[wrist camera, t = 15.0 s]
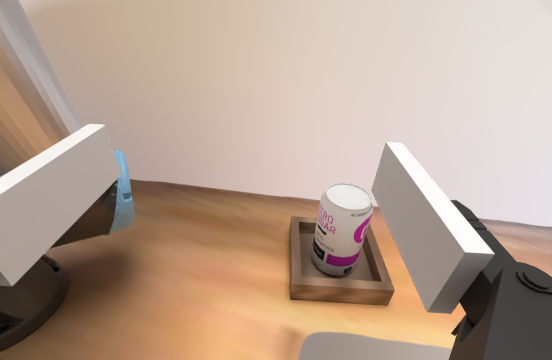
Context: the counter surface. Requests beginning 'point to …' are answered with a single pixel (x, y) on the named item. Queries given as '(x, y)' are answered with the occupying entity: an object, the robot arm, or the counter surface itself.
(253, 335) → the counter surface
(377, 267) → the tray
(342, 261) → the supplement can
